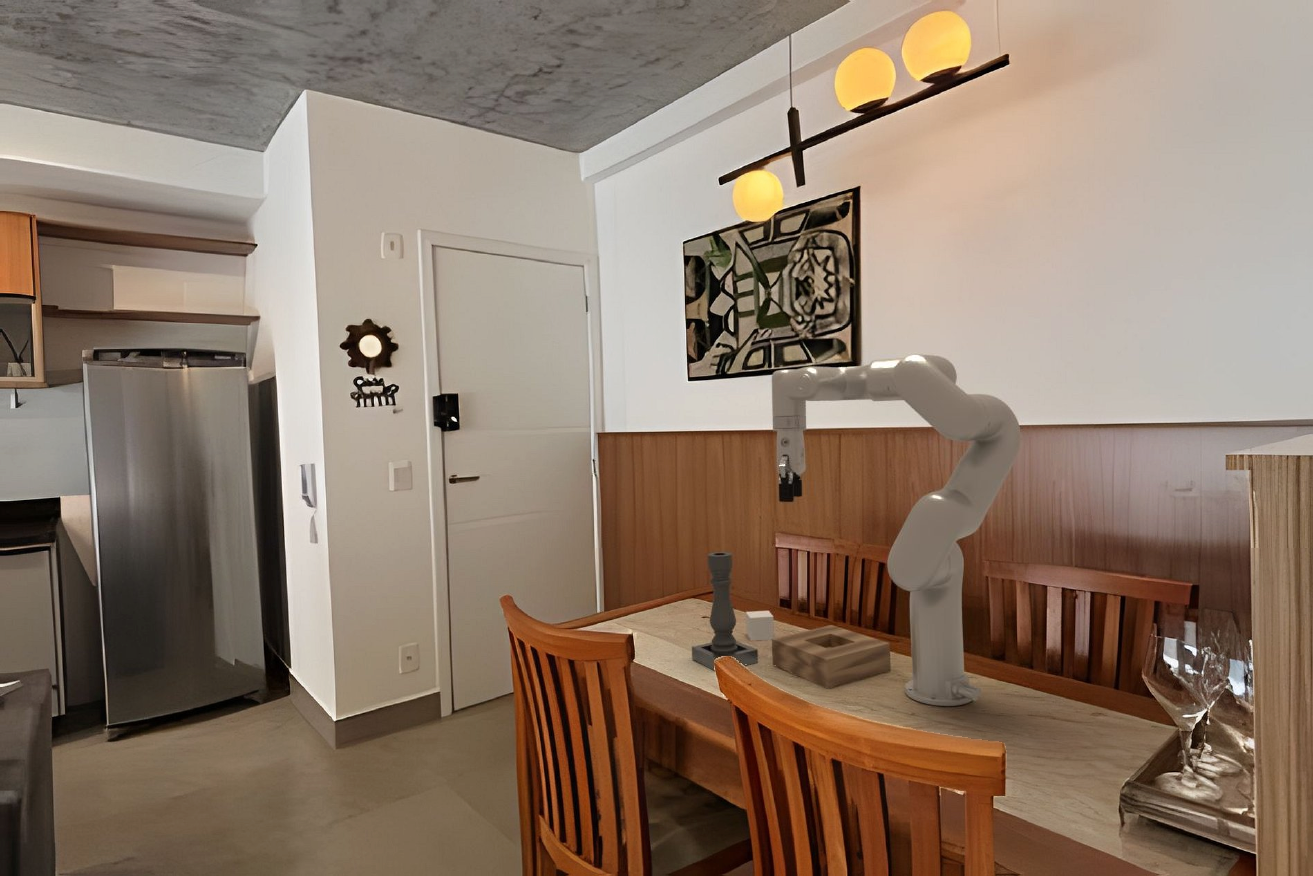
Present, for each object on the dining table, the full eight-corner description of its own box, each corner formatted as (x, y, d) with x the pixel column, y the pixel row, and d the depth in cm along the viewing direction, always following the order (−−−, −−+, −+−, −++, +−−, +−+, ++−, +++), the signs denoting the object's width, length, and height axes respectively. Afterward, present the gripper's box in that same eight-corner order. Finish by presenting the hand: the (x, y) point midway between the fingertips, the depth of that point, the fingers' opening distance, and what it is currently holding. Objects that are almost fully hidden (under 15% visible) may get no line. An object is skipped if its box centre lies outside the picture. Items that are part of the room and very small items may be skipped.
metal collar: (758, 662, 164) (757, 649, 164) (718, 672, 159) (717, 659, 159) (730, 650, 174) (730, 638, 174) (692, 659, 168) (691, 647, 168)
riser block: (890, 670, 155) (889, 643, 155) (828, 688, 146) (826, 659, 146) (832, 650, 171) (831, 625, 171) (772, 665, 162) (771, 639, 162)
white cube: (746, 634, 187) (745, 611, 187) (769, 633, 187) (768, 610, 187) (751, 641, 181) (749, 617, 181) (774, 640, 181) (773, 616, 181)
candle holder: (737, 656, 169) (733, 551, 169) (738, 665, 163) (733, 556, 163) (711, 657, 170) (706, 552, 169) (711, 665, 164) (706, 557, 163)
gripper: (798, 424, 153) (800, 504, 154) (812, 423, 169) (814, 495, 170) (764, 425, 156) (765, 503, 156) (781, 423, 172) (782, 494, 172)
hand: (790, 499), depth 163 cm, fingers open, 9 cm apart
